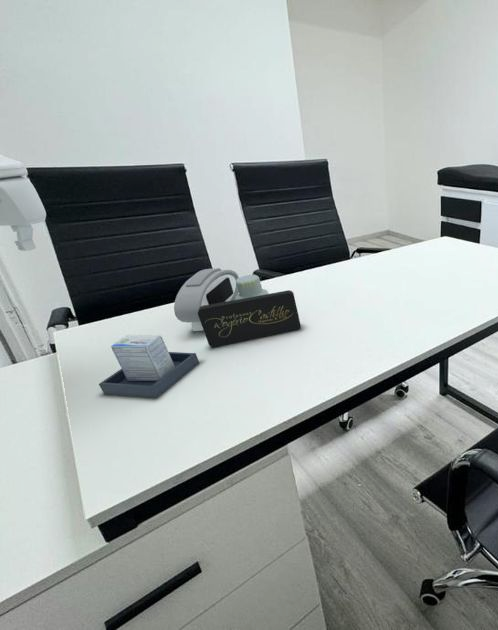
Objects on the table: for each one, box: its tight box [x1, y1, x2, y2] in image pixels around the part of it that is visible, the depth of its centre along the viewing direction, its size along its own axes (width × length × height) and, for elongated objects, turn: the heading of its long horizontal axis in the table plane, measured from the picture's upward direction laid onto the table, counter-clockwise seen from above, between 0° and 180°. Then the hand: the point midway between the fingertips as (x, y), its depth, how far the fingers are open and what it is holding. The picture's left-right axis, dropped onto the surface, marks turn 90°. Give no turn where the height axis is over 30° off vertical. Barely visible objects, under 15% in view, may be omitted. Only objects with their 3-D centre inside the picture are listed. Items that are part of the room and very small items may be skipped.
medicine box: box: [110, 334, 175, 381], centre depth 78 cm, size 8×4×9 cm, turn 84°
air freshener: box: [235, 274, 270, 300], centre depth 104 cm, size 11×8×10 cm
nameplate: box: [198, 289, 302, 348], centre depth 92 cm, size 21×2×10 cm, turn 110°
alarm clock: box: [173, 267, 240, 332], centre depth 103 cm, size 23×6×13 cm, turn 0°
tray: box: [98, 351, 200, 399], centre depth 80 cm, size 12×12×2 cm
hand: (7, 249), depth 69 cm, fingers open, 8 cm apart
